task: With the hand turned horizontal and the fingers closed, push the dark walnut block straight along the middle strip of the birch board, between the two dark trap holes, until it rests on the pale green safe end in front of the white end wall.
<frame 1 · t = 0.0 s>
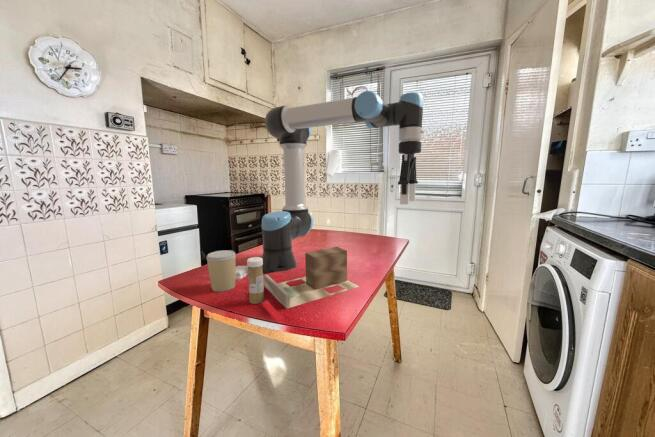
hand: (407, 202, 93), 28 cm above the table, tool pointing down, fingers open, 13 cm apart
soap: (239, 275, 101), on the table
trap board: (311, 290, 86), on the table
sprinkles bottle: (257, 301, 79), on the table
coffee cup: (223, 287, 90), on the table
block: (326, 282, 89), point 1 cm above the table, touching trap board
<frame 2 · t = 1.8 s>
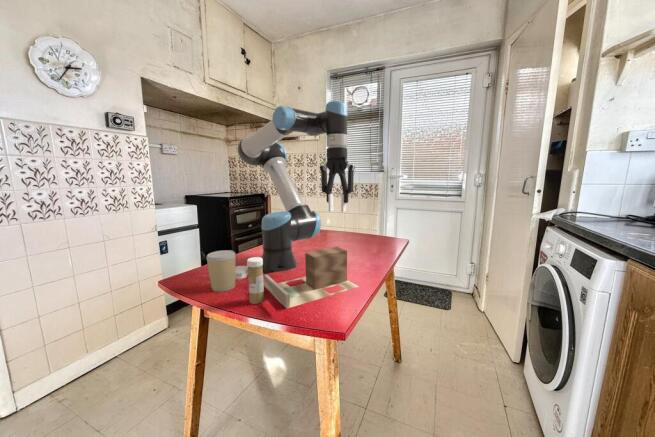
hand: (337, 211, 97), 25 cm above the table, tool pointing down, fingers open, 4 cm apart
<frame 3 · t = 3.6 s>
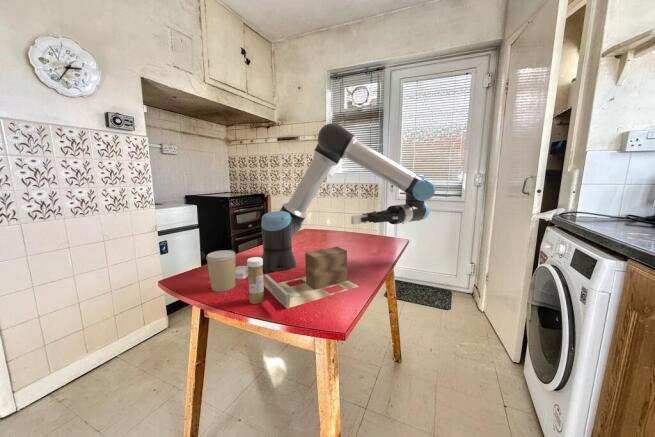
hand: (352, 220, 92), 22 cm above the table, tool horizontal, fingers closed
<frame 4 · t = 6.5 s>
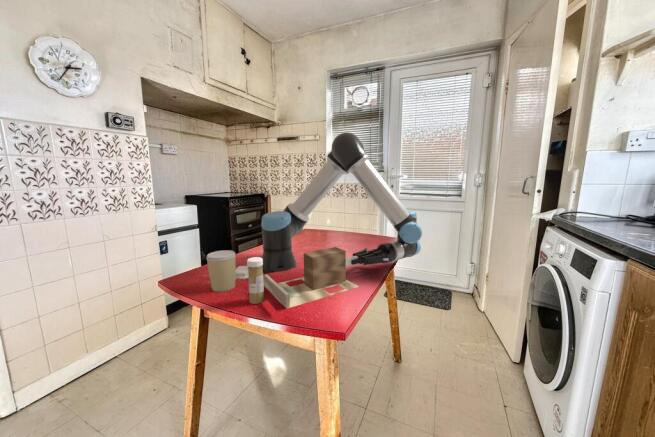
hand: (342, 263, 90), 7 cm above the table, tool horizontal, fingers closed
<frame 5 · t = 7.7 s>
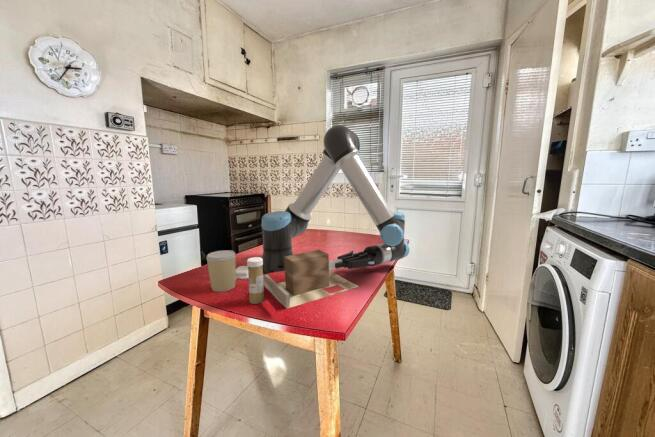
hand: (325, 266, 87), 7 cm above the table, tool horizontal, fingers closed
block: (307, 287, 85), point 2 cm above the table, touching gripper
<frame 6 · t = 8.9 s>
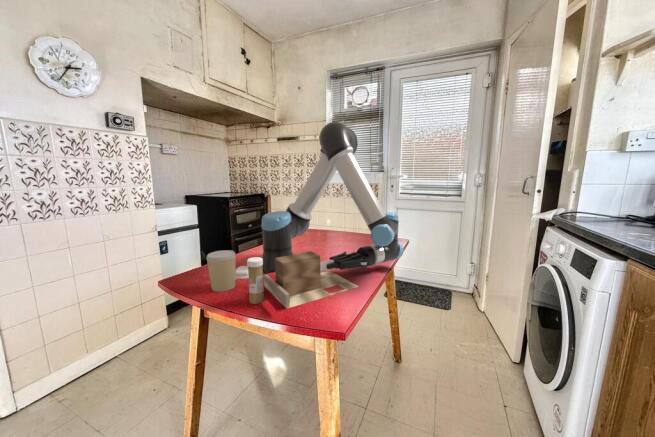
hand: (316, 267, 86), 8 cm above the table, tool horizontal, fingers closed
block: (298, 289, 83), point 2 cm above the table, touching gripper, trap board
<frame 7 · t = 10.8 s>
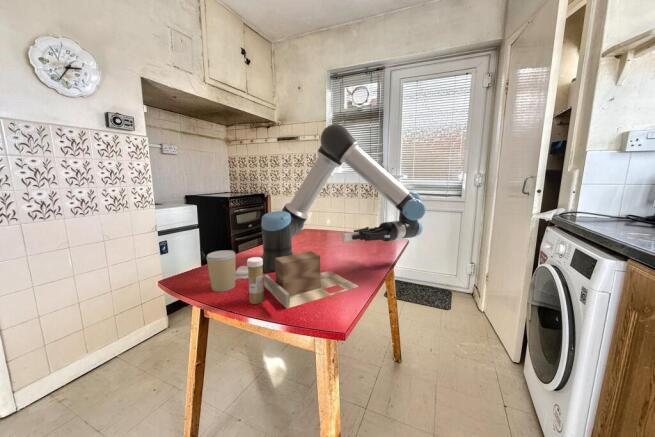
hand: (343, 237, 90), 16 cm above the table, tool horizontal, fingers closed
block: (298, 289, 83), point 1 cm above the table, touching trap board
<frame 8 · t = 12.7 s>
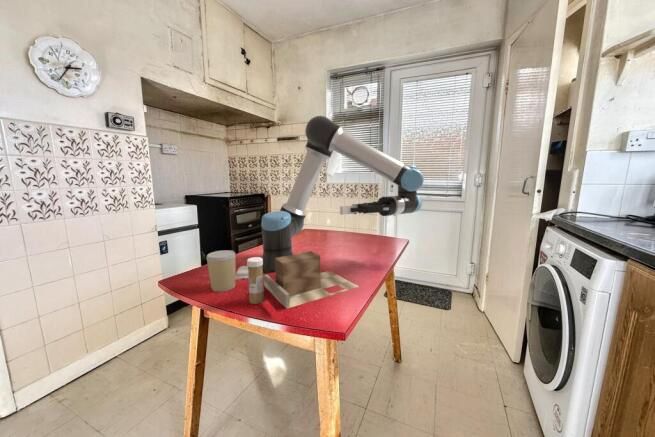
hand: (341, 210, 88), 26 cm above the table, tool horizontal, fingers closed
at the end: block 0.4 cm from the target spot, point 1.5 cm above the table; block tilted 0°; block moved 10.6 cm from its start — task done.
